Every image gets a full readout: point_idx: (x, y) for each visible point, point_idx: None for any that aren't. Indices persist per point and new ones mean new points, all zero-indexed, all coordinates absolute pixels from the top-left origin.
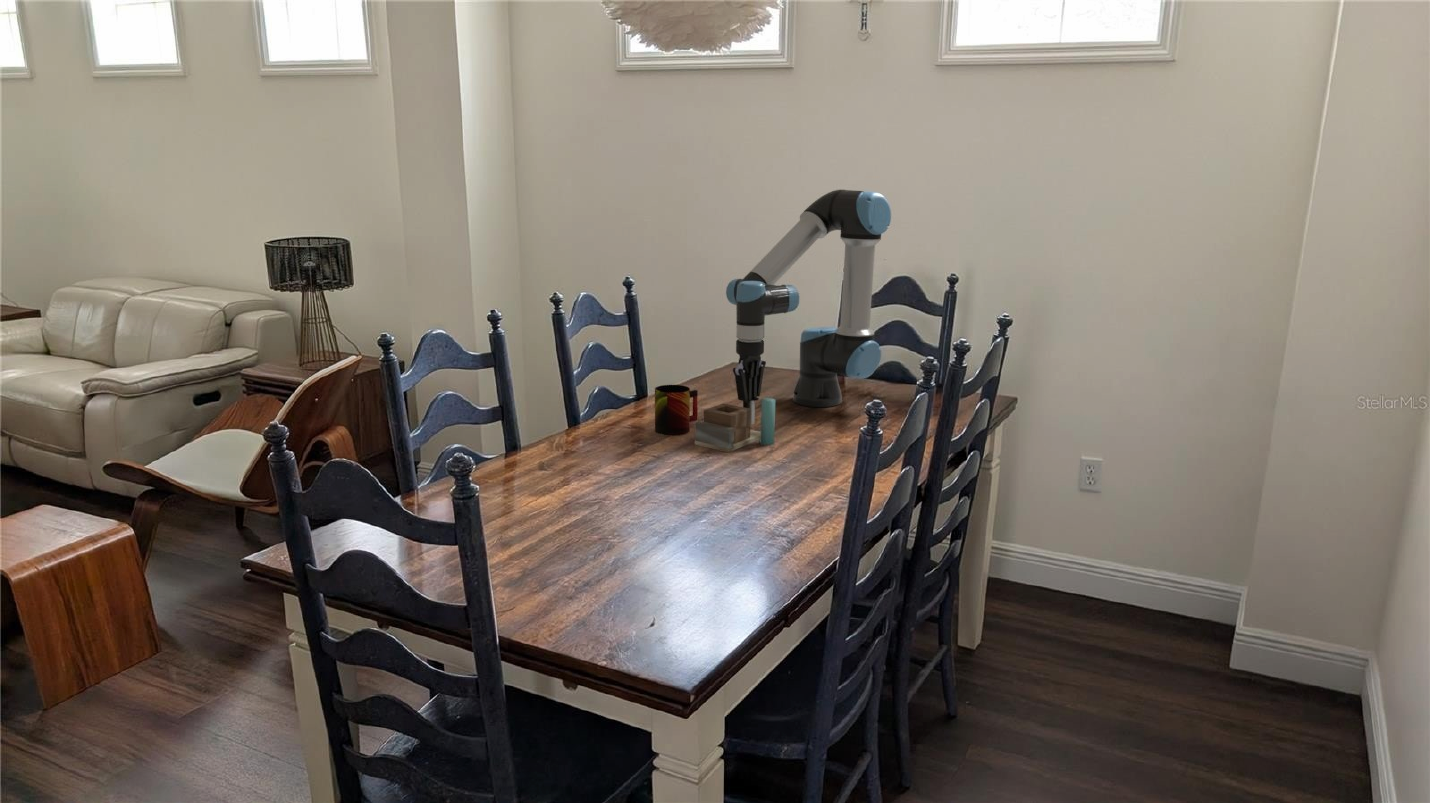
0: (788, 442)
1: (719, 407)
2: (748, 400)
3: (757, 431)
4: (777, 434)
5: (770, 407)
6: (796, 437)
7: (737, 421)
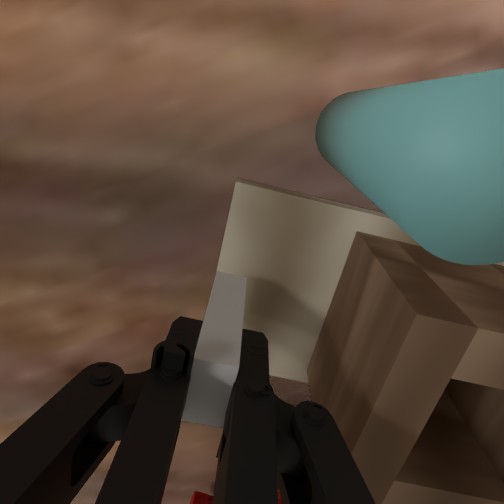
0: (290, 14)
1: (444, 497)
2: (271, 395)
3: (229, 235)
4: (169, 136)
5: None
6: (169, 2)
7: None
